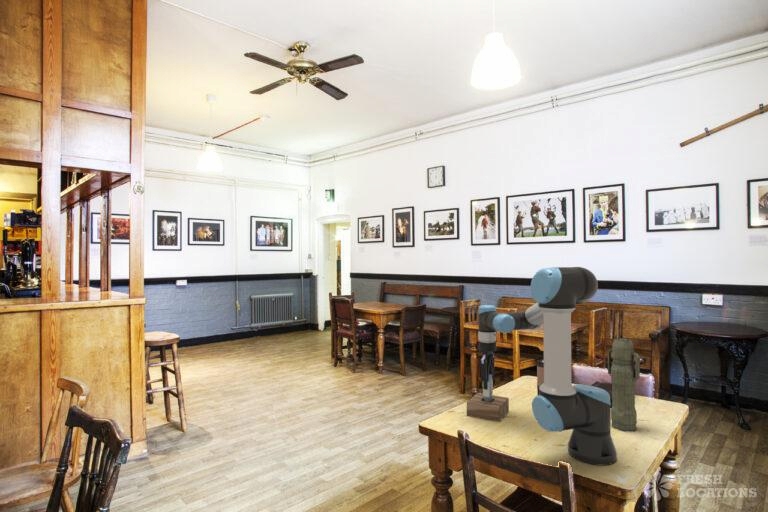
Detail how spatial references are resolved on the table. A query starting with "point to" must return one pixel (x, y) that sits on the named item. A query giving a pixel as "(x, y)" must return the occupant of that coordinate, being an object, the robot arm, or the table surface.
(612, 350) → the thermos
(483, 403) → the bore block
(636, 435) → the table surface
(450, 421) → the table surface
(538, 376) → the travel mug
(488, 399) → the dowel pin
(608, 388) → the diary
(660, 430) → the table surface
